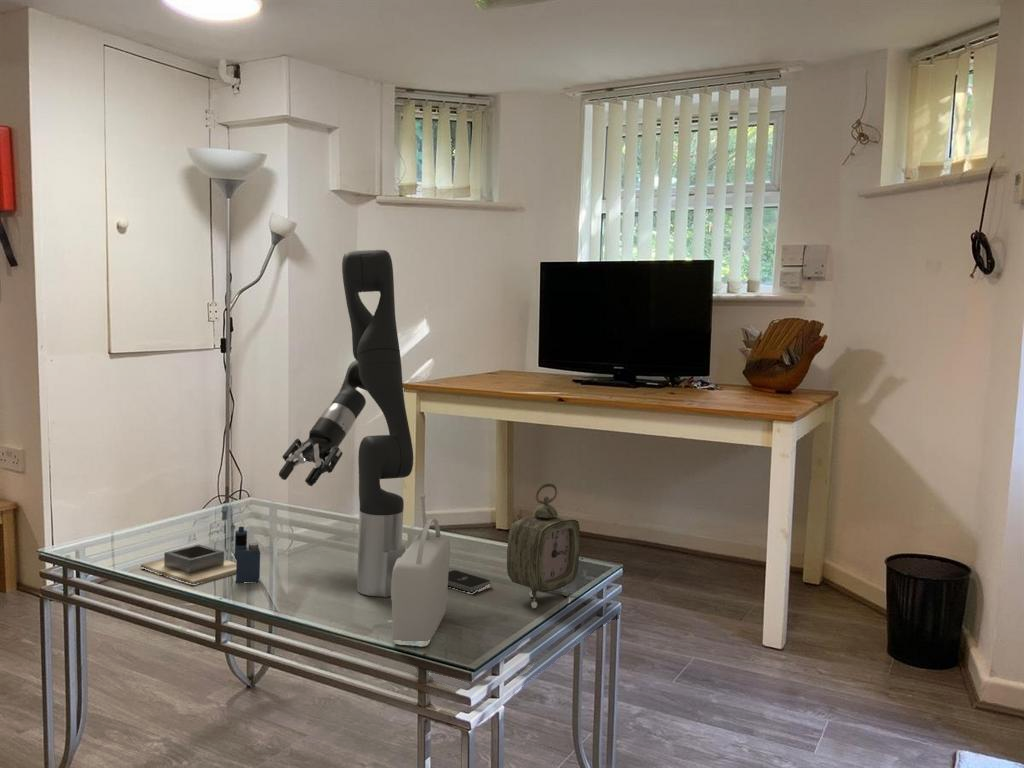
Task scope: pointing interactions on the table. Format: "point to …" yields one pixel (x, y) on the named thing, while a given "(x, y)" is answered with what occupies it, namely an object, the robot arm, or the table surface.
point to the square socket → (193, 559)
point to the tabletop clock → (543, 548)
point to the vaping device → (246, 558)
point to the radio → (420, 585)
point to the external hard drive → (466, 581)
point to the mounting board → (196, 577)
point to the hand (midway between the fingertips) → (294, 480)
